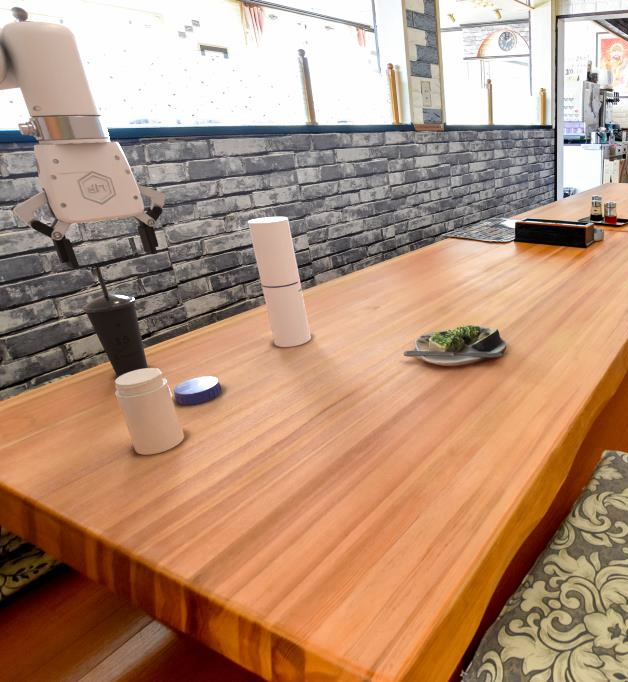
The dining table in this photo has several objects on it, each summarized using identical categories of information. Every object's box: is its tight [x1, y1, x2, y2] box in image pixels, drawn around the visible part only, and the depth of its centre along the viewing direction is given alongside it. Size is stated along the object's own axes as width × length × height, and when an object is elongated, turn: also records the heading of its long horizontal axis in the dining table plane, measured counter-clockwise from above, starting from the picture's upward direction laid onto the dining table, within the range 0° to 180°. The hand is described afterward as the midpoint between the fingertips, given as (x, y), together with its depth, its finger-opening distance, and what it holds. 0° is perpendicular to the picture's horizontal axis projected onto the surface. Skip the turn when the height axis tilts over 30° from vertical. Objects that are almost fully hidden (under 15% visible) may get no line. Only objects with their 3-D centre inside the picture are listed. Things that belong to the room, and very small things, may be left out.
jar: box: [114, 367, 185, 456], centre depth 74 cm, size 6×6×11 cm
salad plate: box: [403, 324, 507, 368], centre depth 101 cm, size 19×18×5 cm
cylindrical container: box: [247, 216, 312, 348], centre depth 106 cm, size 7×7×25 cm
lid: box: [173, 375, 222, 406], centre depth 88 cm, size 7×7×2 cm
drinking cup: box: [81, 266, 149, 378], centre depth 94 cm, size 8×8×20 cm
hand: (113, 259), depth 76 cm, fingers open, 9 cm apart
